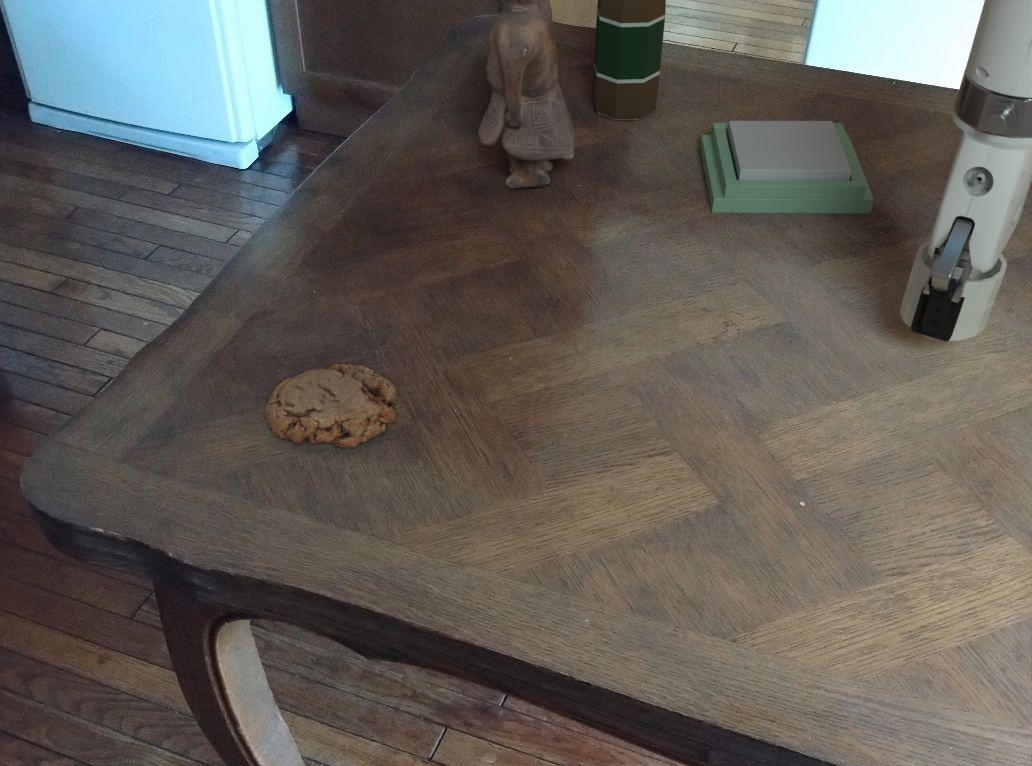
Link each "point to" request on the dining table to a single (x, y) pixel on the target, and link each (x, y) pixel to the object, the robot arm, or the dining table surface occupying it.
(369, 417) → the cookie
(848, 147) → the scale
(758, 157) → the pan
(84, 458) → the dining table surface
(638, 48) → the beer bottle
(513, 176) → the clay figurine
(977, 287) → the cup
